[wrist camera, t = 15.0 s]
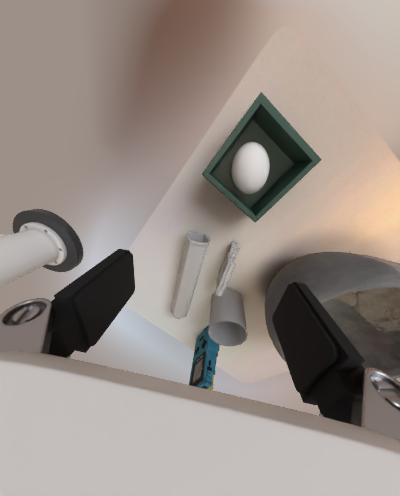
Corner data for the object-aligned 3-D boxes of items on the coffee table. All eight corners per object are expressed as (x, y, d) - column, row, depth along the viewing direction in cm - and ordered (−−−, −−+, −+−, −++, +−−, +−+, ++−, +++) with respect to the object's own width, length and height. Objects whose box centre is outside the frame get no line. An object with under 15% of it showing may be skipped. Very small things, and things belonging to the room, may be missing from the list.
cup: (207, 305, 44) (203, 338, 35) (217, 284, 40) (215, 315, 31) (235, 314, 44) (237, 350, 35) (247, 294, 40) (254, 329, 31)
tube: (188, 322, 42) (212, 245, 31) (168, 323, 41) (187, 241, 29) (186, 306, 47) (207, 233, 35) (168, 306, 45) (184, 230, 34)
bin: (249, 213, 31) (255, 222, 25) (206, 174, 29) (201, 174, 23) (300, 162, 26) (321, 159, 21) (252, 111, 24) (261, 91, 19)
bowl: (406, 258, 31) (548, 323, 17) (323, 329, 42) (370, 403, 28) (293, 215, 30) (348, 248, 17) (239, 299, 41) (247, 359, 28)
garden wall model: (231, 240, 34) (232, 252, 29) (239, 242, 34) (241, 255, 29) (215, 280, 40) (214, 297, 34) (222, 282, 40) (221, 299, 34)
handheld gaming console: (209, 322, 47) (203, 381, 33) (220, 328, 47) (219, 389, 34) (195, 338, 51) (184, 396, 38) (205, 343, 51) (199, 403, 38)
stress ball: (256, 187, 31) (285, 186, 26) (224, 197, 29) (249, 199, 23) (254, 144, 28) (287, 132, 22) (217, 151, 26) (245, 140, 20)
